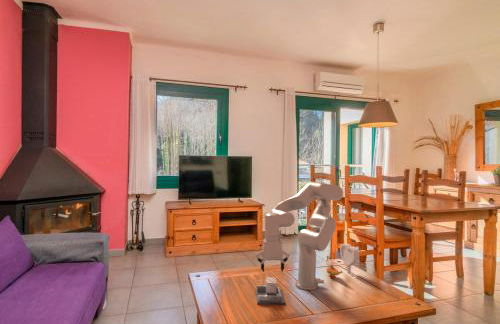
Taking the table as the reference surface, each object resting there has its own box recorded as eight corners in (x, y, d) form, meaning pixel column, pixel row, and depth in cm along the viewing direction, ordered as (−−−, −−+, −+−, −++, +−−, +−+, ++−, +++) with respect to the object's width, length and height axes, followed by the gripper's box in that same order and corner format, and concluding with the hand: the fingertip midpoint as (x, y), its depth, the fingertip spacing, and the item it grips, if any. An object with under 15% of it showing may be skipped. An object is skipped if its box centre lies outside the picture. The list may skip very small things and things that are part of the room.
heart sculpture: (338, 269, 189) (339, 242, 189) (345, 269, 190) (346, 241, 190) (352, 279, 174) (353, 249, 174) (359, 278, 175) (360, 249, 175)
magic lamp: (336, 285, 166) (337, 265, 165) (321, 272, 183) (321, 255, 183) (347, 284, 167) (348, 265, 167) (330, 272, 185) (331, 254, 185)
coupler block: (274, 292, 152) (275, 277, 151) (276, 299, 145) (276, 283, 144) (265, 292, 151) (265, 277, 151) (266, 298, 144) (266, 282, 144)
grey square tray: (281, 291, 155) (282, 285, 155) (285, 304, 141) (286, 297, 141) (255, 291, 155) (256, 284, 155) (257, 304, 141) (257, 297, 141)
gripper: (288, 235, 152) (288, 267, 152) (255, 235, 151) (255, 267, 152) (290, 239, 144) (290, 273, 145) (255, 240, 144) (256, 274, 144)
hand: (272, 270), depth 148 cm, fingers open, 9 cm apart
